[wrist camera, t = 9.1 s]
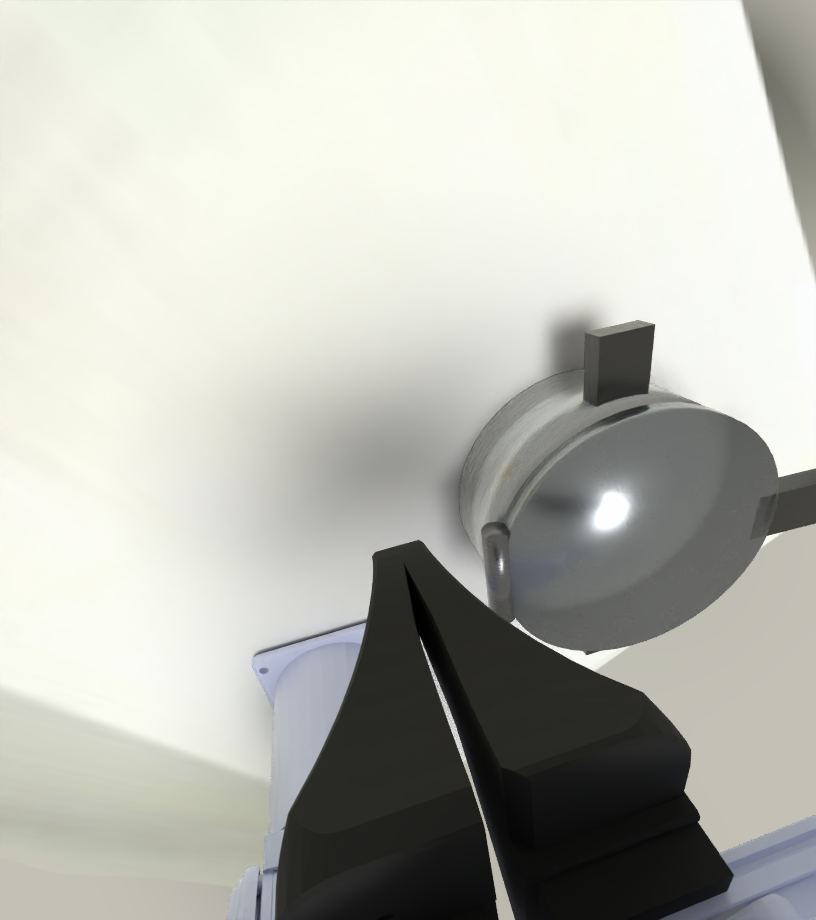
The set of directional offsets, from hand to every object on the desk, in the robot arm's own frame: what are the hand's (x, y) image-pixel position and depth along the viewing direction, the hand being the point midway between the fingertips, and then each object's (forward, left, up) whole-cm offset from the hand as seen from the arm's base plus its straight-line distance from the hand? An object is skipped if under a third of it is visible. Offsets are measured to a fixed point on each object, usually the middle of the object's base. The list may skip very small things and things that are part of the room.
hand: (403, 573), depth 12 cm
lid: (-6, -12, -5) cm, 15 cm away
